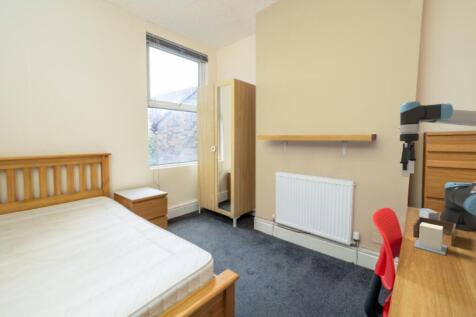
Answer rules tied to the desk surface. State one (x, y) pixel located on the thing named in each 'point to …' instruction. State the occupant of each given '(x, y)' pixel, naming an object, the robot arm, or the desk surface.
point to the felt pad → (442, 252)
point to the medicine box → (428, 213)
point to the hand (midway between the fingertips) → (407, 174)
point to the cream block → (431, 236)
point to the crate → (447, 226)
